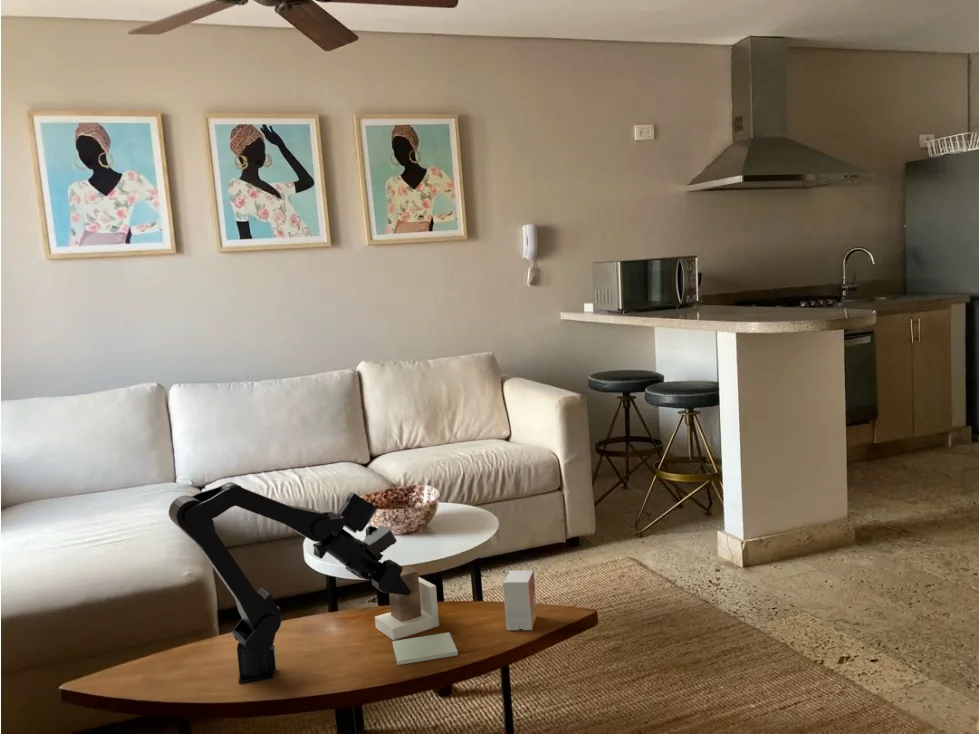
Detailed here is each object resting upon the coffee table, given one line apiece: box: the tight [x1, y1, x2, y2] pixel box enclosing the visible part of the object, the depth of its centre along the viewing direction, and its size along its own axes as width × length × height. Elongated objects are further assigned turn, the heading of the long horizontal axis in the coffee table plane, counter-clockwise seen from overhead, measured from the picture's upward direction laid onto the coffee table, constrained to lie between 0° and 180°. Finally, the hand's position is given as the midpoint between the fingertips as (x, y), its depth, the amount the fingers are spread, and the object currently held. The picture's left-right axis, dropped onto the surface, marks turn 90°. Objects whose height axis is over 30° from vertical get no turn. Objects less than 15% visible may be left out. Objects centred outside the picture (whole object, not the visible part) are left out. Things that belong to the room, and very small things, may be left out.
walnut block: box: [388, 565, 422, 622], centre depth 174 cm, size 5×5×10 cm
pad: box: [392, 632, 459, 666], centre depth 162 cm, size 12×10×1 cm
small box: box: [502, 569, 538, 631], centre depth 172 cm, size 8×6×10 cm
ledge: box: [374, 576, 440, 641], centre depth 175 cm, size 11×9×9 cm
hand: (400, 587), depth 174 cm, fingers open, 9 cm apart
